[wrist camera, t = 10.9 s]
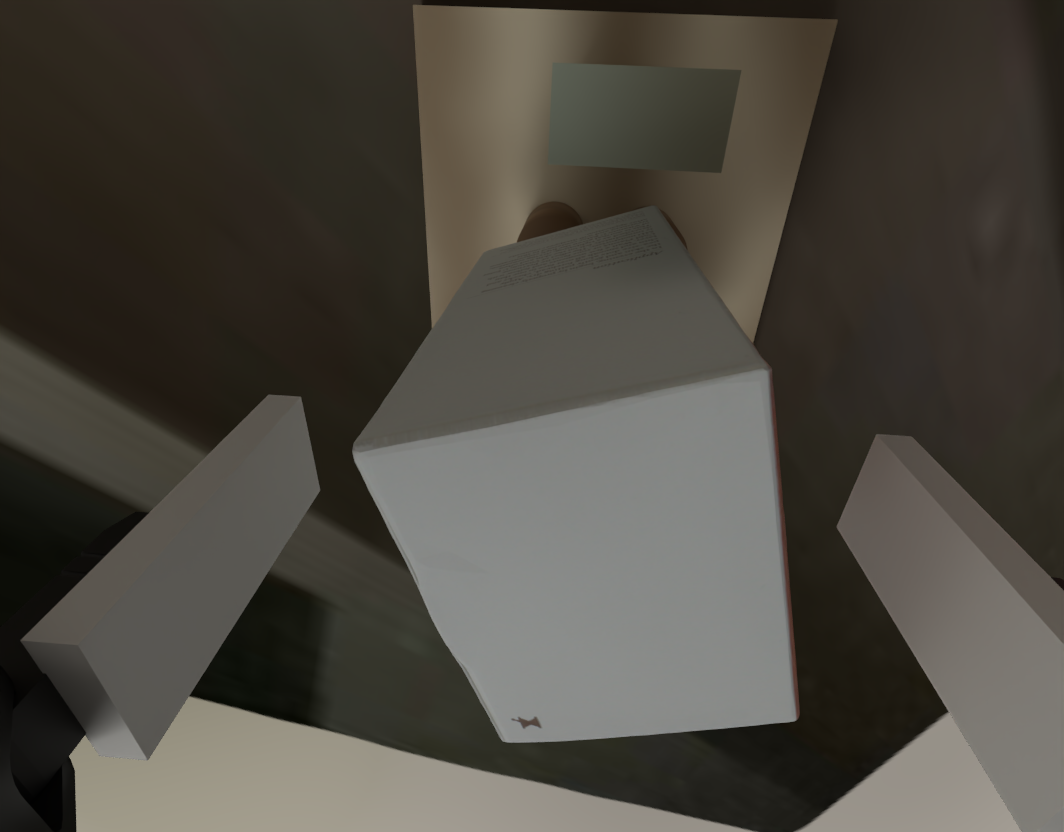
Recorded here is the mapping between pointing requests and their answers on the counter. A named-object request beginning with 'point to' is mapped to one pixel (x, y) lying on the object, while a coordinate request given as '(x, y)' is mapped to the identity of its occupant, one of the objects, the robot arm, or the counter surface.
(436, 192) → the peg stand
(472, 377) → the small box
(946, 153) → the counter surface
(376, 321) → the counter surface
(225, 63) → the counter surface
